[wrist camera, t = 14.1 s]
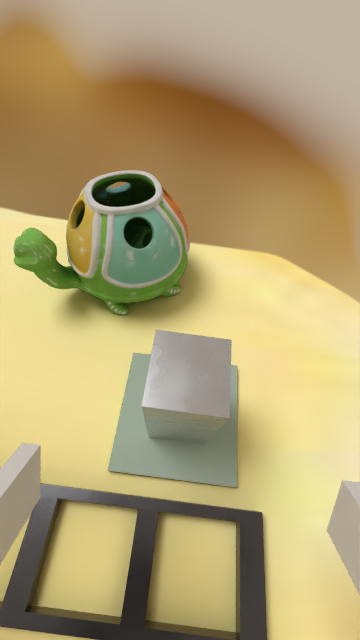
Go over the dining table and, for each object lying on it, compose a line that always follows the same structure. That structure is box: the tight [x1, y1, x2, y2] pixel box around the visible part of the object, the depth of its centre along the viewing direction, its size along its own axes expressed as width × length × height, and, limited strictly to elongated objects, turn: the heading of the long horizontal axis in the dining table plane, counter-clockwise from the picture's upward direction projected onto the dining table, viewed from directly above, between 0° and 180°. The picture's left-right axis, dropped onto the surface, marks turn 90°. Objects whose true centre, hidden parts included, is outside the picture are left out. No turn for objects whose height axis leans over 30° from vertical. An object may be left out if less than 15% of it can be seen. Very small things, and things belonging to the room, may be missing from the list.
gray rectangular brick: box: [142, 330, 231, 445], centre depth 22 cm, size 5×5×11 cm
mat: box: [108, 353, 237, 487], centre depth 27 cm, size 11×11×1 cm
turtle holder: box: [13, 170, 190, 315], centre depth 30 cm, size 12×18×12 cm
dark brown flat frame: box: [0, 483, 267, 640], centre depth 21 cm, size 26×8×1 cm, turn 84°
